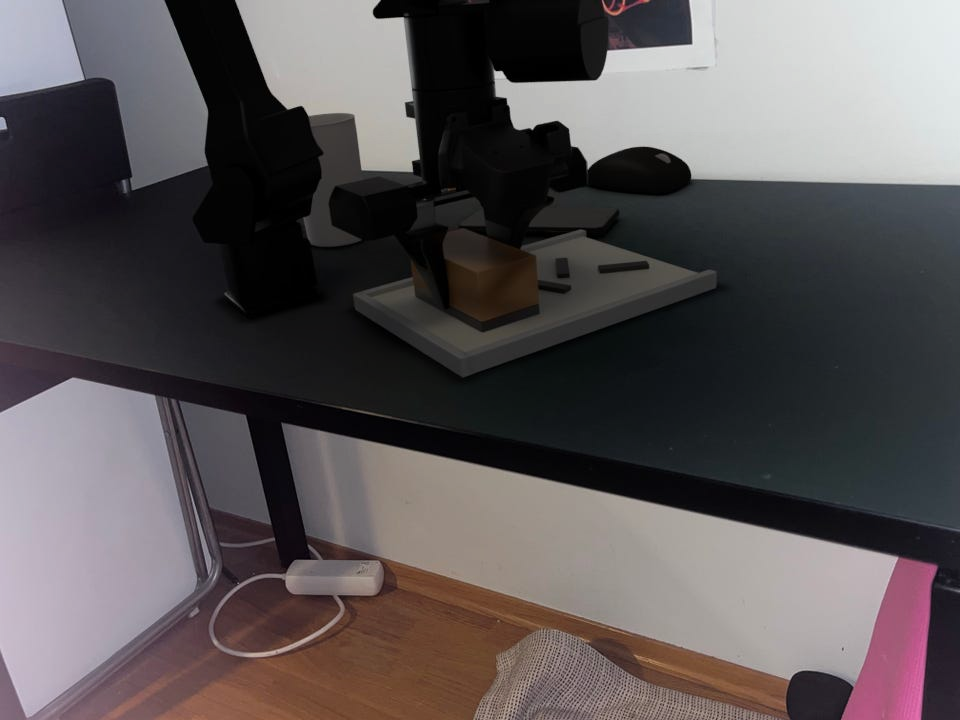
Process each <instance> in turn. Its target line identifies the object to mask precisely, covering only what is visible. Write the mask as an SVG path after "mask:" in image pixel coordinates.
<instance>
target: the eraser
mask: <svg viewBox="0 0 960 720" xmlns="http://www.w3.org/2000/svg"><path fill="white" fill-rule="evenodd" d="M443 252H444V259H445V266H446V273H447V280H448V286H449V308H448V309H446V310H444V309H442V308H440V307H439V306H438V305H437V303H436V301H435V300H434V298H433V296H432V294H431V293H430V291H429V289H428V287H427V286H426V284H425V282H424V280H423V279H422V277H421V275H420V273H419V272H418V270H417V268H416V267H415V265H414V263H413V261H412V260H411V258H410V257H409V258H410V266H411V267H410V268H411V274H412V277H413V283H414V287H415V288H414V291H415V297H417V298H419V299H421V300H423V301H425V302H426V303H428V304H430V305H432V306H434V307H436V308H438V309H439V310H441V311H443V312H445V313H447V314H449V315H451V316H453V317H454V318H456V319H458V320H460V321H462V322H464V323H466V324H467V325H469V326H471V327H473V328H475V329H477V330H479V331H481V332H486V331H489V330H492V329H495V328H498V327H501V326H504V325H507V324H510V323H513V322H516V321H519V320H522V319H525V318H528V317H531V316H534V315H537V314H539V313H540V311H539V294H538V278H537V262H536V255H534V254H531V253H528V252H526V251H523V250H520V249H518V248H515V247H512V246H510V245H507V244H504V243H502V242H499V241H496V240H493V239H491V238H488V236H485V235H482V234H481V233H480V234H479V233H478V232H472V231H469V230H467V229H464V228H462V229H454V230H451V231H447V234H446V236H445V239H444V241H443Z"/></svg>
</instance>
